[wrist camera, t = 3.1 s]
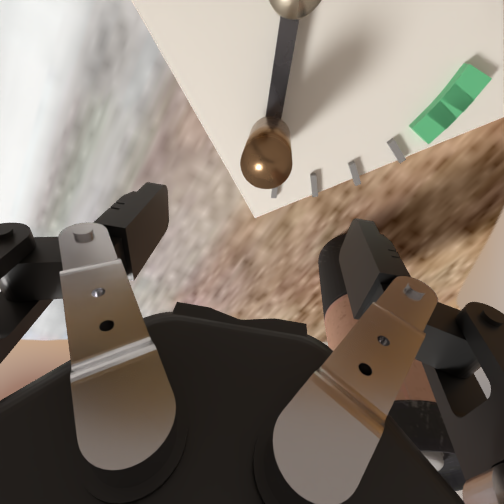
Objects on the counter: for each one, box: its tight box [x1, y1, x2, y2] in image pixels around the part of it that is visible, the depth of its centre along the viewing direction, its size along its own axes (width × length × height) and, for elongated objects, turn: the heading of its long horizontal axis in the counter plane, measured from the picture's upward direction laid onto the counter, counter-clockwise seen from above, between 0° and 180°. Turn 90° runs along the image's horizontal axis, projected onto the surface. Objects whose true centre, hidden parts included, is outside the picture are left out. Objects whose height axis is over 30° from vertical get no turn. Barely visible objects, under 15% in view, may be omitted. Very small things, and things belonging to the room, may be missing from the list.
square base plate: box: [131, 0, 504, 218], centre depth 20 cm, size 20×21×2 cm
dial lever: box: [240, 0, 321, 189], centre depth 17 cm, size 14×4×7 cm, turn 172°
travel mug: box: [318, 234, 466, 491], centre depth 24 cm, size 8×8×20 cm
